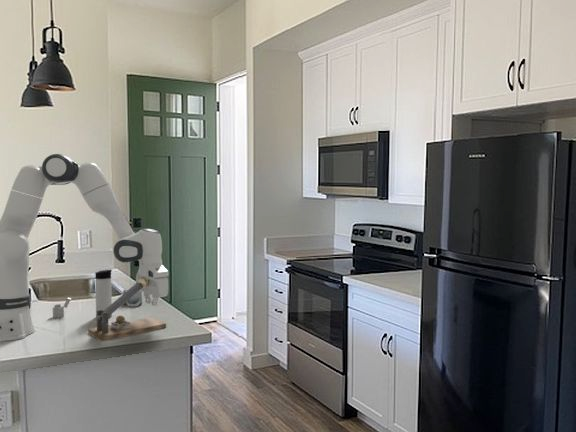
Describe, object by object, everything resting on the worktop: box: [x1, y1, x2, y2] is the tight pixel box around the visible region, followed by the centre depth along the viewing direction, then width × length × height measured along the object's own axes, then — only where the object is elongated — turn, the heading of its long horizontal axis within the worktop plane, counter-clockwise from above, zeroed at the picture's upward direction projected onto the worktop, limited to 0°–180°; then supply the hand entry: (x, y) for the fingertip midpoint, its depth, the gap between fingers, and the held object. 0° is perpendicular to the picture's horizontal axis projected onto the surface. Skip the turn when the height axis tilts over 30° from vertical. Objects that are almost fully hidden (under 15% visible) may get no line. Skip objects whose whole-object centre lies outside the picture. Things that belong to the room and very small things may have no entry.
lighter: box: [52, 297, 72, 319], centre depth 219 cm, size 7×2×8 cm, turn 110°
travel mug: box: [94, 269, 113, 319], centre depth 219 cm, size 6×7×20 cm
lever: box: [96, 277, 149, 322], centre depth 199 cm, size 24×4×4 cm
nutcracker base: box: [87, 310, 167, 341], centre depth 201 cm, size 26×12×9 cm, turn 133°
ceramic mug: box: [122, 287, 143, 308], centre depth 241 cm, size 11×8×8 cm
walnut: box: [115, 315, 126, 324], centre depth 199 cm, size 3×3×3 cm
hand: (151, 304), depth 207 cm, fingers open, 3 cm apart
